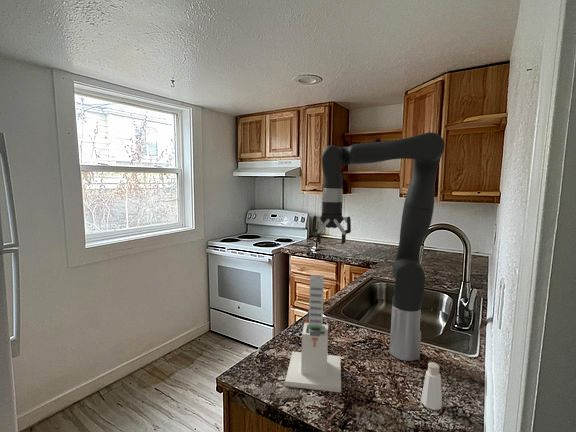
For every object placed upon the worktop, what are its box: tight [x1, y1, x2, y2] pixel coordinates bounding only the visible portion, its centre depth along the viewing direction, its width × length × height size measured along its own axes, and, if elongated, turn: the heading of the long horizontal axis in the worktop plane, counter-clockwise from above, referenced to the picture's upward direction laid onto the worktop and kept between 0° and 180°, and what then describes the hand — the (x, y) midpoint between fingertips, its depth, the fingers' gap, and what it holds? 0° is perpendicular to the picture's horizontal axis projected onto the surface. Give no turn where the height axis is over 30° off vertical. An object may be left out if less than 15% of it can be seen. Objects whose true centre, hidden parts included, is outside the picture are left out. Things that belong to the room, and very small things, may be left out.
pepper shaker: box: [420, 361, 443, 411], centre depth 81 cm, size 5×5×11 cm
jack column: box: [308, 274, 325, 334], centre depth 92 cm, size 4×4×22 cm
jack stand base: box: [284, 322, 342, 393], centre depth 94 cm, size 16×16×15 cm
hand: (330, 243), depth 114 cm, fingers open, 8 cm apart
